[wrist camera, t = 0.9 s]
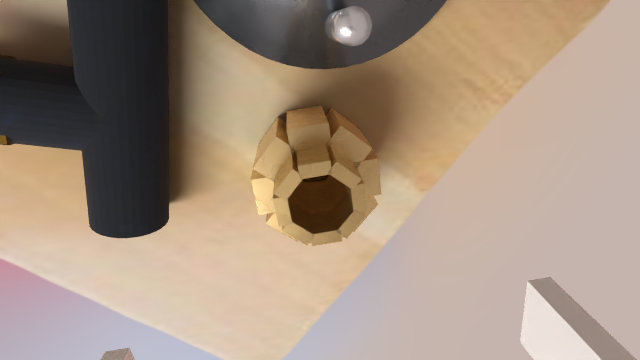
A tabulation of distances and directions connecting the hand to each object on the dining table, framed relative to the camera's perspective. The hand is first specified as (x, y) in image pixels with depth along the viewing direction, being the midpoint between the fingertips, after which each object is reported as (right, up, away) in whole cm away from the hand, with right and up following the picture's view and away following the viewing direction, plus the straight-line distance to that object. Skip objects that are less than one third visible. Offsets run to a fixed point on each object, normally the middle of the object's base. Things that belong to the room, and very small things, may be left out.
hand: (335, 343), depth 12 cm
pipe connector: (-16, +11, +13) cm, 23 cm away
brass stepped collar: (-1, +7, +15) cm, 17 cm away
